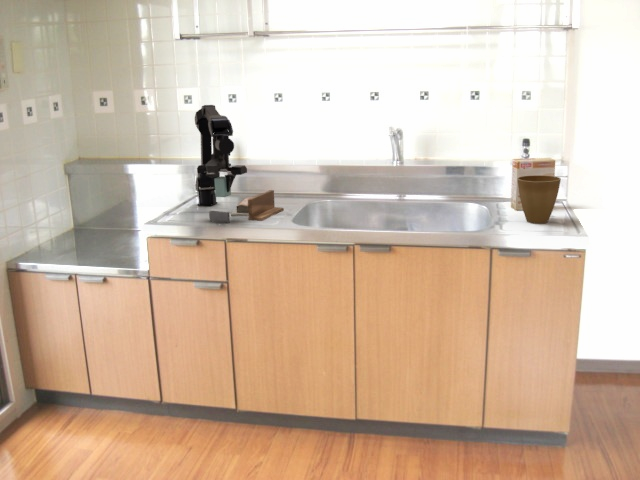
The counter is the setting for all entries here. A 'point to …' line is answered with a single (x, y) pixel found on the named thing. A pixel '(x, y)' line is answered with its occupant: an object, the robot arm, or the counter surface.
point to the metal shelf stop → (219, 217)
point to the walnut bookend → (262, 206)
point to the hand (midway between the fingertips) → (223, 191)
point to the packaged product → (241, 208)
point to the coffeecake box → (528, 174)
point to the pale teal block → (221, 187)
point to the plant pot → (538, 196)
